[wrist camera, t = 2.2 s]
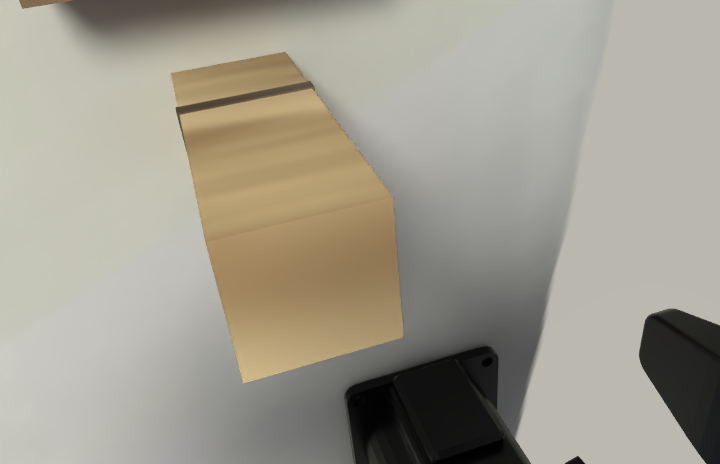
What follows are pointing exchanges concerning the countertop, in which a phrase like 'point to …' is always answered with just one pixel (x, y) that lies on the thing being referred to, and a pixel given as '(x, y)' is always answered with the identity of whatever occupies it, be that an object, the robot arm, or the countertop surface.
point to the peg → (287, 217)
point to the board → (39, 2)
